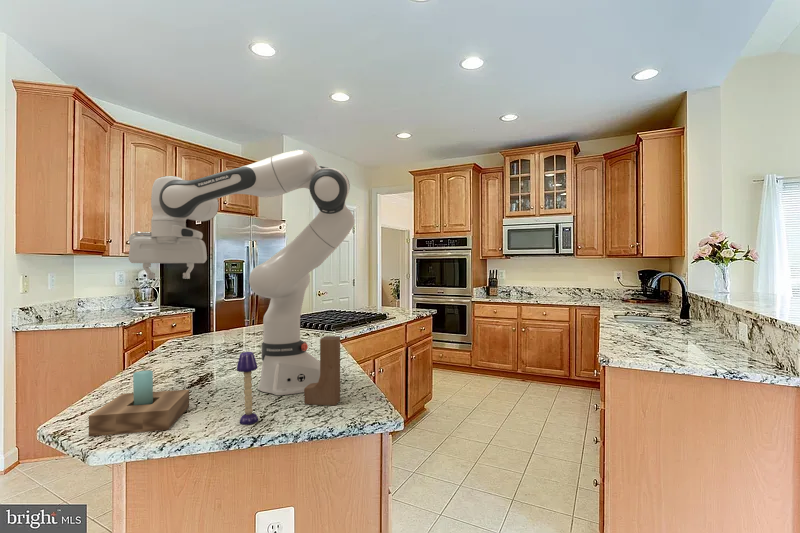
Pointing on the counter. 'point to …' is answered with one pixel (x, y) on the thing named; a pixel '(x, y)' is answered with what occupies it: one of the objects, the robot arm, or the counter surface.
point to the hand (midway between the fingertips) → (168, 278)
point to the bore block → (139, 413)
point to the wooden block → (326, 375)
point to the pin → (143, 387)
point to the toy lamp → (247, 385)
